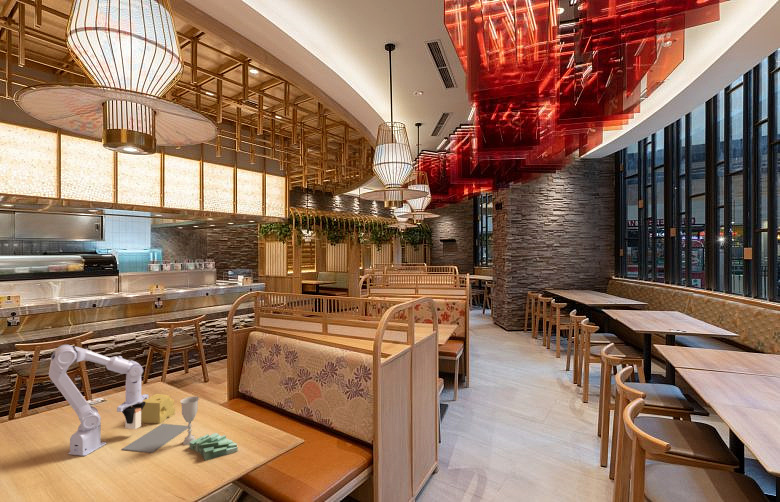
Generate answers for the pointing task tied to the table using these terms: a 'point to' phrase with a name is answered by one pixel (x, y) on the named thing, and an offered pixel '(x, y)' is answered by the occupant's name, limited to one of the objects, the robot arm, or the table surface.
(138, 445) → the slate mat
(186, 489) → the table surface
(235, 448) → the money
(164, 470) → the table surface
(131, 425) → the cream block
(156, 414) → the cheese
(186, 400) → the chalice
